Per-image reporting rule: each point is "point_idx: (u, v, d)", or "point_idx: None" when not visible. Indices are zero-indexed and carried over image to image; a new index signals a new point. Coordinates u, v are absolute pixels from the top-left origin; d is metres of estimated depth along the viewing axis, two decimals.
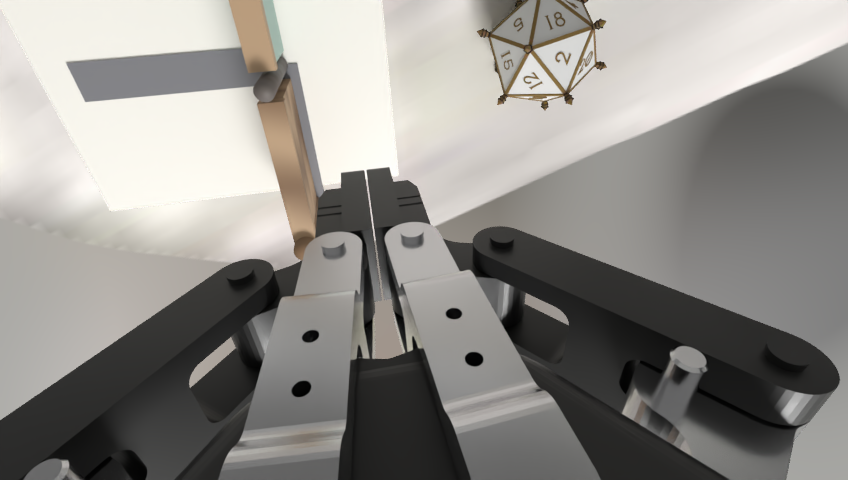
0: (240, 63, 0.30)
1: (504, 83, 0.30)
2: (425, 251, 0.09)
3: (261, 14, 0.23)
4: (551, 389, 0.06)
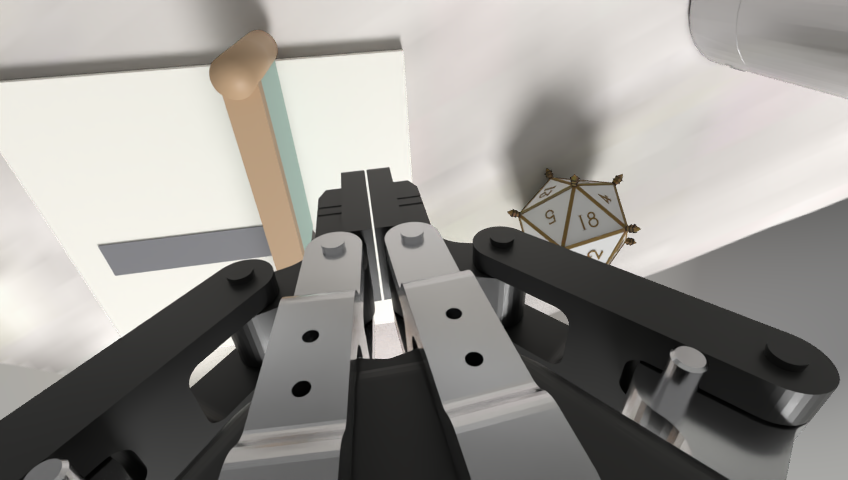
0: None
1: None
2: (425, 251, 0.09)
3: (298, 245, 0.23)
4: (551, 389, 0.06)
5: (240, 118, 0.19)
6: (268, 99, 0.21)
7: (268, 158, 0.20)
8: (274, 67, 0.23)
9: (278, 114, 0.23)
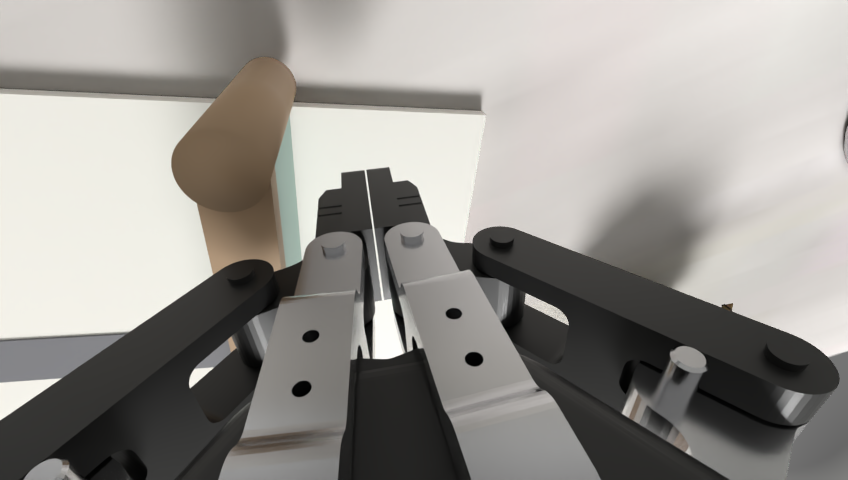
0: None
1: None
2: (425, 251, 0.09)
3: None
4: (551, 389, 0.06)
5: (225, 234, 0.10)
6: (278, 186, 0.12)
7: None
8: (287, 119, 0.14)
9: (287, 199, 0.14)
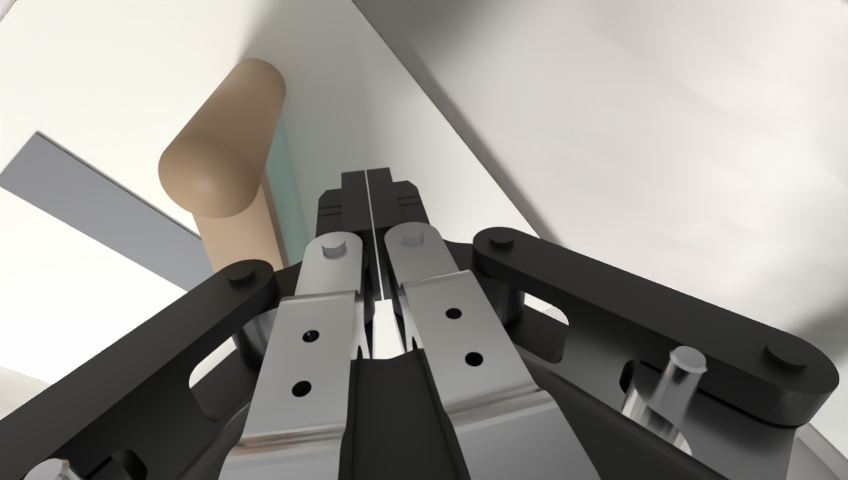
0: None
1: None
2: (425, 251, 0.09)
3: None
4: (551, 389, 0.06)
5: (224, 241, 0.10)
6: (275, 187, 0.12)
7: None
8: (280, 119, 0.14)
9: (288, 199, 0.14)
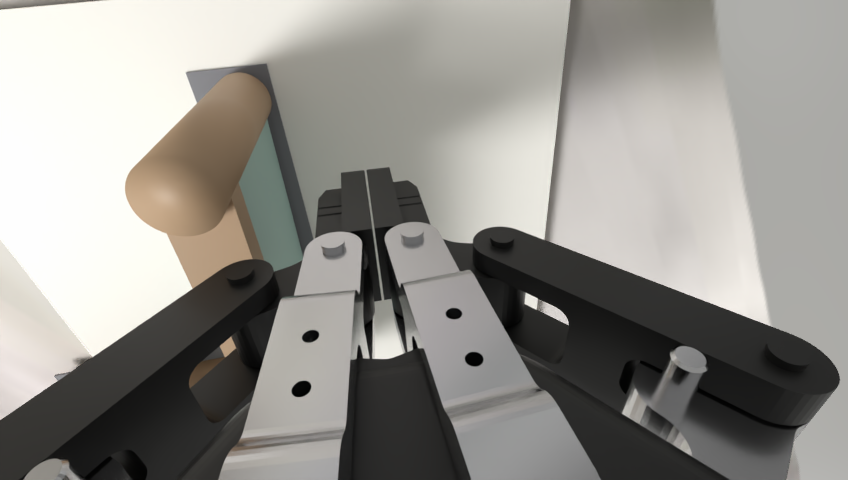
0: None
1: None
2: (425, 251, 0.09)
3: None
4: (551, 389, 0.06)
5: (199, 257, 0.10)
6: (255, 201, 0.12)
7: None
8: (266, 131, 0.14)
9: (273, 211, 0.14)
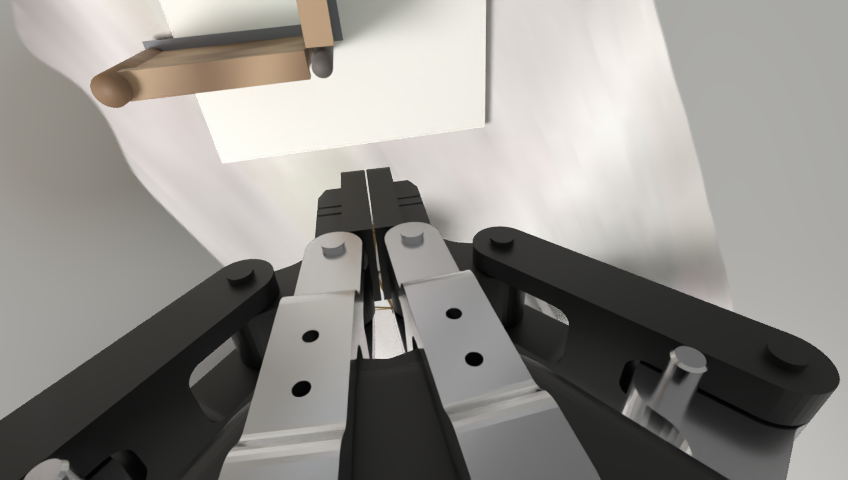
0: None
1: None
2: (425, 251, 0.09)
3: None
4: (551, 389, 0.06)
5: None
6: None
7: None
8: None
9: None
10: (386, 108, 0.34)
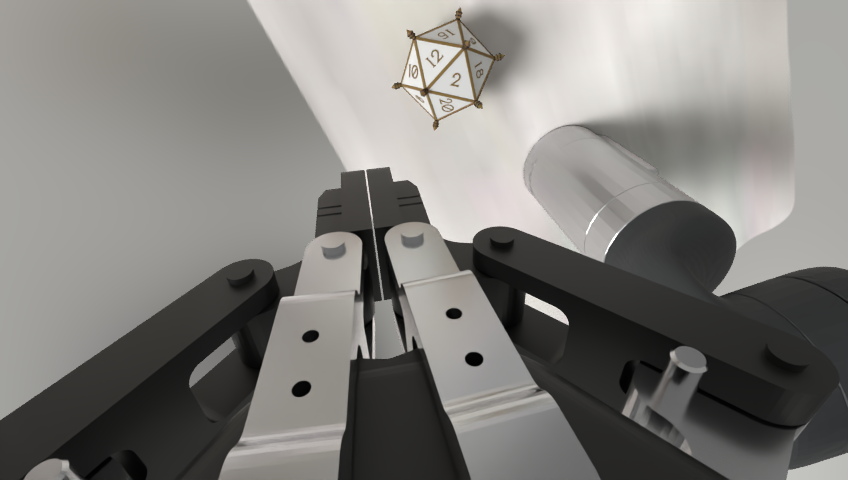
0: None
1: (424, 35, 0.33)
2: (425, 251, 0.09)
3: None
4: (551, 389, 0.06)
5: None
6: None
7: None
8: None
9: None
10: None
